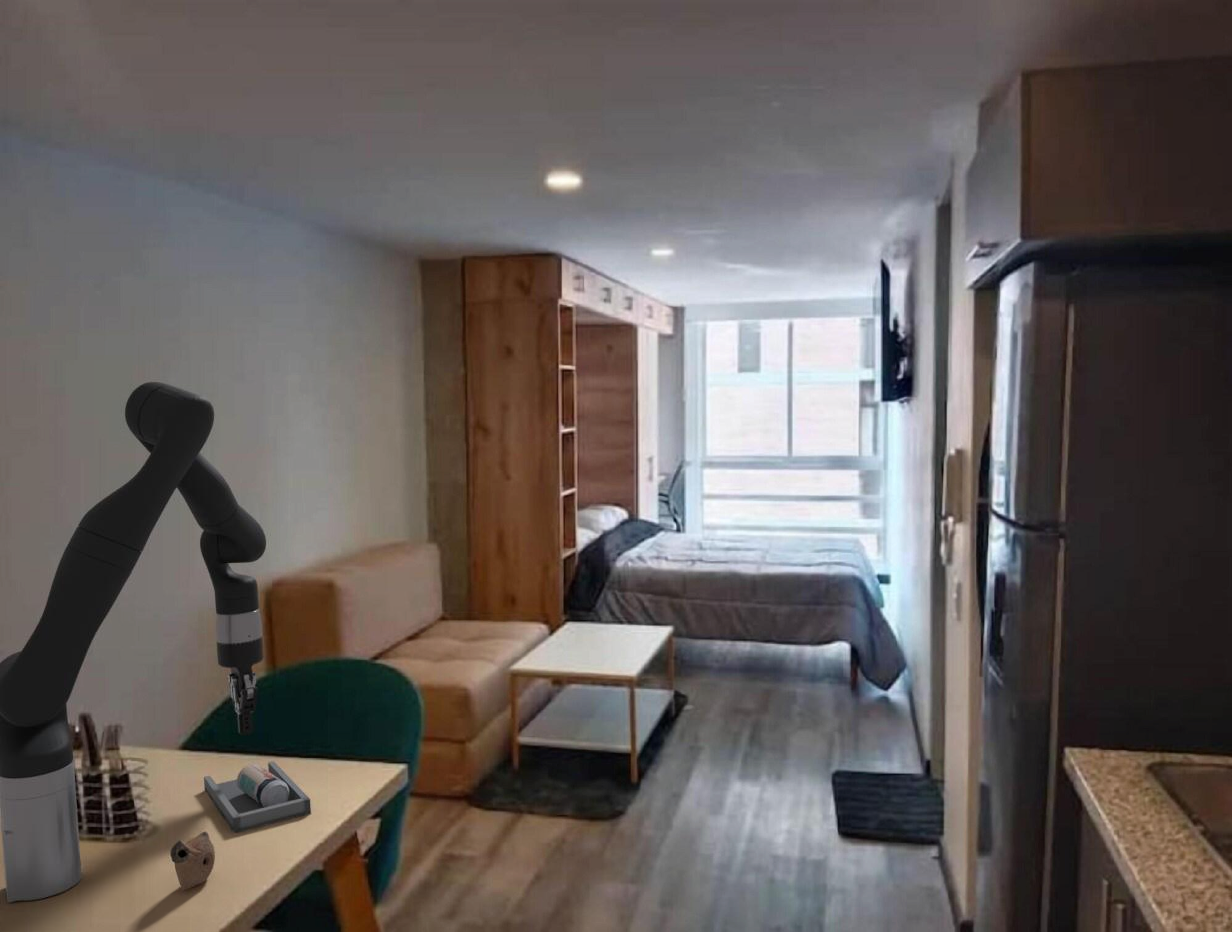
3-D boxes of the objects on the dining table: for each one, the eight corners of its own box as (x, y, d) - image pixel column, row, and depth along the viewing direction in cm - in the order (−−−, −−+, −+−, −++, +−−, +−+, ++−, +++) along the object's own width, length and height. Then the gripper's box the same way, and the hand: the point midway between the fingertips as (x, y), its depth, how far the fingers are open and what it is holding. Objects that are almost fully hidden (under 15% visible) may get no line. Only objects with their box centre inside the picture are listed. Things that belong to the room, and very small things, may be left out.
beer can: (267, 781, 172) (295, 800, 163) (241, 796, 170) (268, 817, 160) (257, 757, 171) (285, 776, 162) (231, 772, 168) (258, 792, 159)
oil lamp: (188, 904, 133) (185, 846, 132) (160, 903, 133) (157, 846, 133) (223, 872, 142) (219, 818, 141) (196, 872, 142) (193, 818, 142)
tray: (234, 833, 155) (233, 818, 155) (204, 790, 173) (203, 776, 173) (310, 813, 162) (310, 799, 161) (274, 773, 180) (273, 761, 180)
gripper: (270, 639, 168) (277, 738, 169) (253, 626, 179) (259, 719, 181) (224, 647, 164) (231, 748, 165) (209, 632, 175) (215, 728, 177)
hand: (245, 733), depth 173 cm, fingers closed
